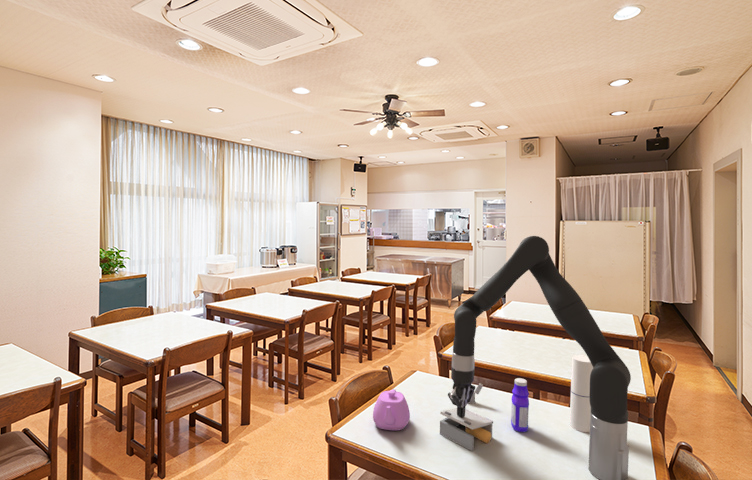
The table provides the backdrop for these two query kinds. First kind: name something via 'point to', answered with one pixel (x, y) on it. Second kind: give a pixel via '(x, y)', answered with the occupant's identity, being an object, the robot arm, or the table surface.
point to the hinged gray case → (459, 433)
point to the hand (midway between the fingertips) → (460, 416)
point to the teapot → (391, 411)
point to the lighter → (476, 393)
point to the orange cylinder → (480, 434)
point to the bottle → (520, 406)
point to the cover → (467, 418)
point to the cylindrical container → (580, 393)
